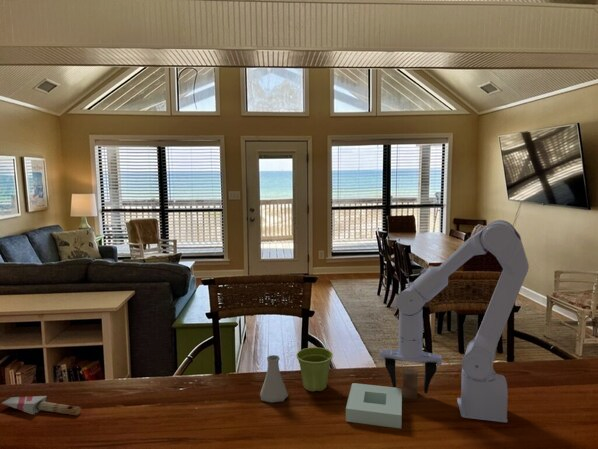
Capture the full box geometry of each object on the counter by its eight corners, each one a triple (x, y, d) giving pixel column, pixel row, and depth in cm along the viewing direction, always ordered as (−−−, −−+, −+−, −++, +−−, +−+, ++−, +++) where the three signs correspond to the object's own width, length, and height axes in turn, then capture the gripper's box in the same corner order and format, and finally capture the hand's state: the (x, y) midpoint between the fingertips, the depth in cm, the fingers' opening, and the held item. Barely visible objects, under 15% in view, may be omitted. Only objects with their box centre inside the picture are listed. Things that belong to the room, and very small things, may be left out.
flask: (290, 389, 105) (289, 352, 104) (286, 404, 97) (285, 364, 97) (262, 388, 105) (261, 351, 104) (256, 403, 98) (255, 363, 97)
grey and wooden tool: (13, 390, 100) (84, 401, 96) (13, 401, 100) (84, 412, 96) (-2, 398, 96) (71, 410, 92) (-1, 409, 96) (72, 421, 92)
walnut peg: (416, 392, 102) (417, 369, 102) (417, 399, 99) (417, 375, 98) (402, 390, 103) (403, 368, 103) (402, 397, 100) (403, 374, 99)
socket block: (401, 400, 99) (401, 388, 98) (401, 428, 87) (401, 415, 87) (352, 394, 102) (352, 382, 101) (345, 421, 90) (345, 408, 90)
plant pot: (319, 399, 99) (319, 365, 99) (289, 388, 105) (289, 356, 104) (339, 384, 107) (339, 352, 106) (310, 374, 112) (310, 344, 112)
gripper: (440, 333, 102) (439, 384, 103) (381, 328, 105) (381, 378, 107) (442, 343, 95) (441, 399, 96) (379, 338, 98) (379, 392, 100)
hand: (409, 389), depth 101 cm, fingers open, 7 cm apart
